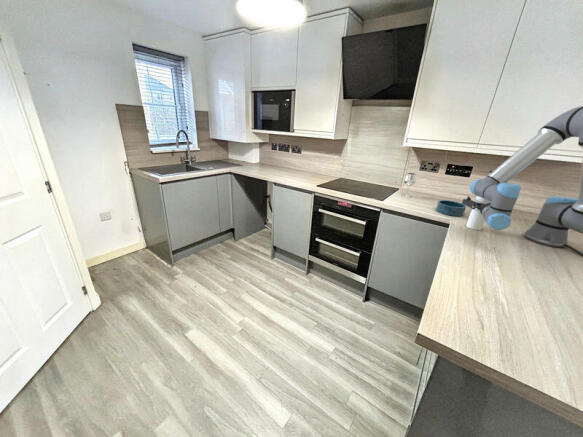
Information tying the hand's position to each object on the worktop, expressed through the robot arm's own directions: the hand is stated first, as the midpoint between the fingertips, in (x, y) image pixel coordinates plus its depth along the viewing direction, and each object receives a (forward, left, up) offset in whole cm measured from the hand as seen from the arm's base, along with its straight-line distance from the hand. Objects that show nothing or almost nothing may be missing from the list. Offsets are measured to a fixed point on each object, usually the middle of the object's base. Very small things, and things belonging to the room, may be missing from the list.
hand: (482, 200), depth 129 cm
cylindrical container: (-2, +1, -15) cm, 16 cm away
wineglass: (+58, +10, -15) cm, 61 cm away
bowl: (+22, -1, -15) cm, 27 cm away
